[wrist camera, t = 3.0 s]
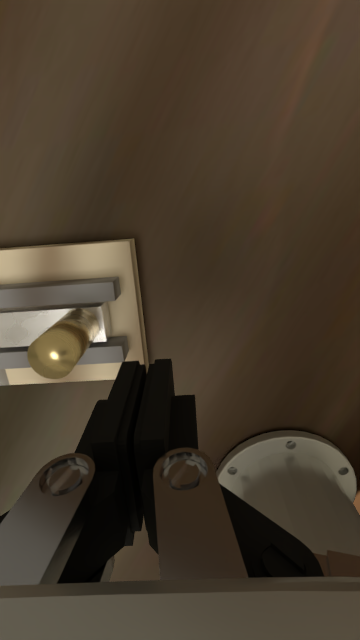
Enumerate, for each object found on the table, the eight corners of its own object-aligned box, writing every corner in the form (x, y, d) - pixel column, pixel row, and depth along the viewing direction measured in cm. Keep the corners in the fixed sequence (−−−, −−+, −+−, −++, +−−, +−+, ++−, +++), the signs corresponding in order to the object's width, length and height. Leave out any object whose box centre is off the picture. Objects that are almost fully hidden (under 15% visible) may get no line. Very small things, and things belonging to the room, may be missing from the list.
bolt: (106, 300, 22) (75, 334, 15) (112, 332, 22) (84, 377, 16) (-7, 307, 22) (-81, 344, 16) (2, 339, 23) (-65, 385, 17)
